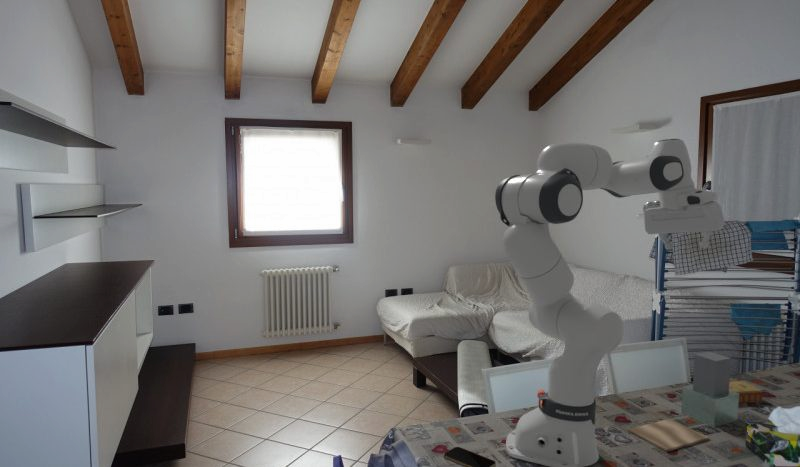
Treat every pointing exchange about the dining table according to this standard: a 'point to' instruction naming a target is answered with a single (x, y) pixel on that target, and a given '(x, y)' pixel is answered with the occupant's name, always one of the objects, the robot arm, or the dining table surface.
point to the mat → (668, 434)
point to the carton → (746, 392)
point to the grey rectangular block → (711, 373)
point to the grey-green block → (710, 406)
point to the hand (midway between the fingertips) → (686, 248)
